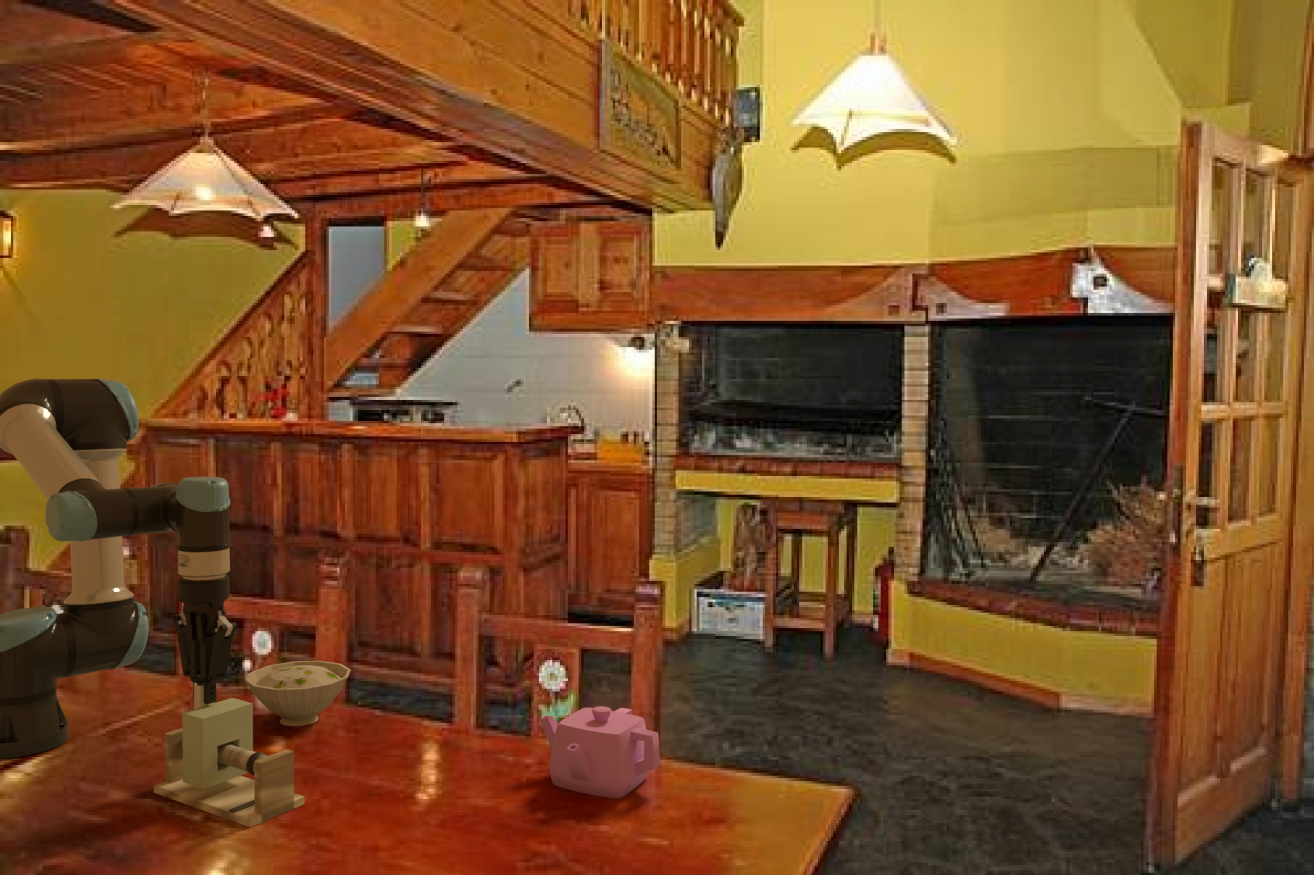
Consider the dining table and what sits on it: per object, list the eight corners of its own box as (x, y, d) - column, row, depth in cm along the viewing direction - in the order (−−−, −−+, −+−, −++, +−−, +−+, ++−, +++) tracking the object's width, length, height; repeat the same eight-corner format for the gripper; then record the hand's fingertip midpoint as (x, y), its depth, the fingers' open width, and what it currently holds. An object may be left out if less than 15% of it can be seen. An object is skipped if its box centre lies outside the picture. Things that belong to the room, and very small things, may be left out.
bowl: (311, 697, 214) (311, 649, 213) (372, 717, 203) (372, 667, 202) (224, 722, 198) (224, 670, 198) (285, 745, 187) (285, 690, 187)
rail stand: (153, 792, 165) (153, 736, 165) (209, 772, 174) (208, 719, 173) (250, 827, 154) (250, 767, 153) (304, 804, 162) (304, 747, 162)
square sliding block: (182, 782, 162) (182, 712, 162) (232, 764, 170) (232, 697, 169) (203, 789, 160) (203, 718, 159) (252, 770, 168) (252, 703, 167)
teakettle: (665, 794, 170) (667, 719, 169) (564, 807, 164) (566, 730, 163) (630, 757, 186) (631, 688, 185) (537, 768, 180) (538, 697, 179)
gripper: (156, 574, 165) (157, 721, 166) (209, 584, 158) (210, 736, 159) (198, 567, 171) (199, 708, 172) (251, 576, 164) (251, 723, 166)
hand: (204, 722), depth 166 cm, fingers closed
